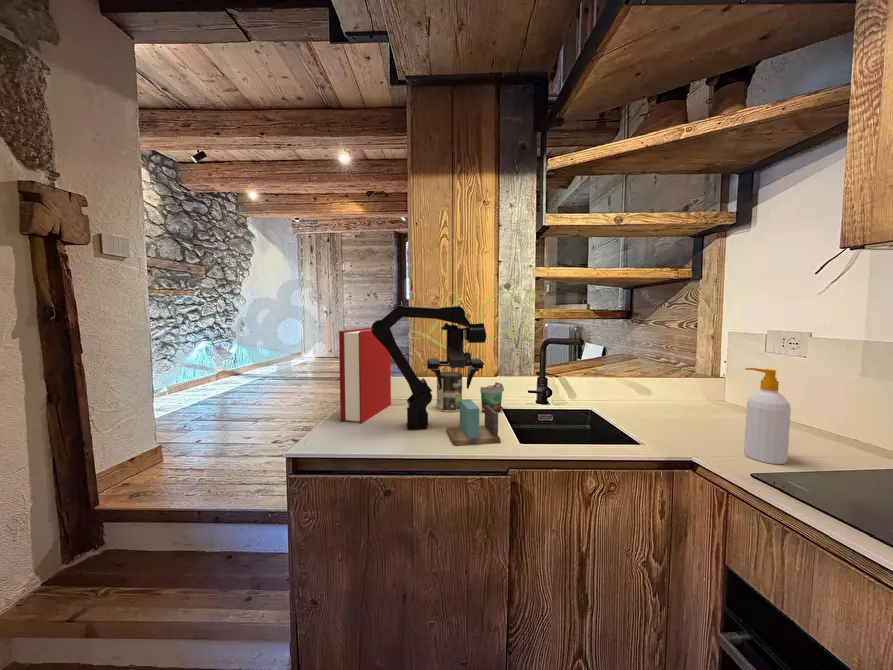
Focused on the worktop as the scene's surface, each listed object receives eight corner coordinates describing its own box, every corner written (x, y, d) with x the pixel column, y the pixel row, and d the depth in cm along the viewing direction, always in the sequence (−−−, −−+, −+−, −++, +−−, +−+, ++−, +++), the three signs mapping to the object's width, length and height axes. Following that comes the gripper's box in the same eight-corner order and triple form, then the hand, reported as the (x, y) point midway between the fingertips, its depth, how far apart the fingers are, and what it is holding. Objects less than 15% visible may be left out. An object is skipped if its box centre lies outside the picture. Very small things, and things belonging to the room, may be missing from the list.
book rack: (453, 445, 103) (453, 417, 102) (446, 432, 115) (446, 406, 114) (500, 442, 105) (500, 414, 105) (488, 429, 117) (488, 404, 116)
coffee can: (467, 407, 144) (467, 373, 143) (453, 413, 135) (453, 377, 134) (445, 403, 149) (445, 370, 148) (431, 409, 141) (431, 374, 140)
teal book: (467, 439, 104) (467, 409, 103) (459, 427, 115) (459, 399, 114) (479, 438, 105) (479, 408, 104) (470, 426, 115) (470, 399, 115)
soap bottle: (741, 448, 102) (746, 365, 100) (787, 457, 95) (793, 369, 93) (738, 457, 95) (743, 369, 94) (787, 467, 89) (793, 373, 87)
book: (361, 423, 123) (360, 331, 121) (340, 422, 125) (339, 330, 122) (392, 403, 149) (391, 327, 147) (374, 402, 151) (373, 327, 149)
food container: (493, 415, 132) (494, 389, 132) (479, 412, 136) (480, 387, 135) (509, 408, 142) (509, 383, 142) (495, 406, 146) (496, 382, 145)
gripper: (428, 345, 111) (428, 394, 112) (487, 345, 113) (486, 393, 115) (426, 342, 122) (426, 387, 123) (480, 342, 125) (479, 386, 126)
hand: (454, 388), depth 121 cm, fingers open, 9 cm apart
